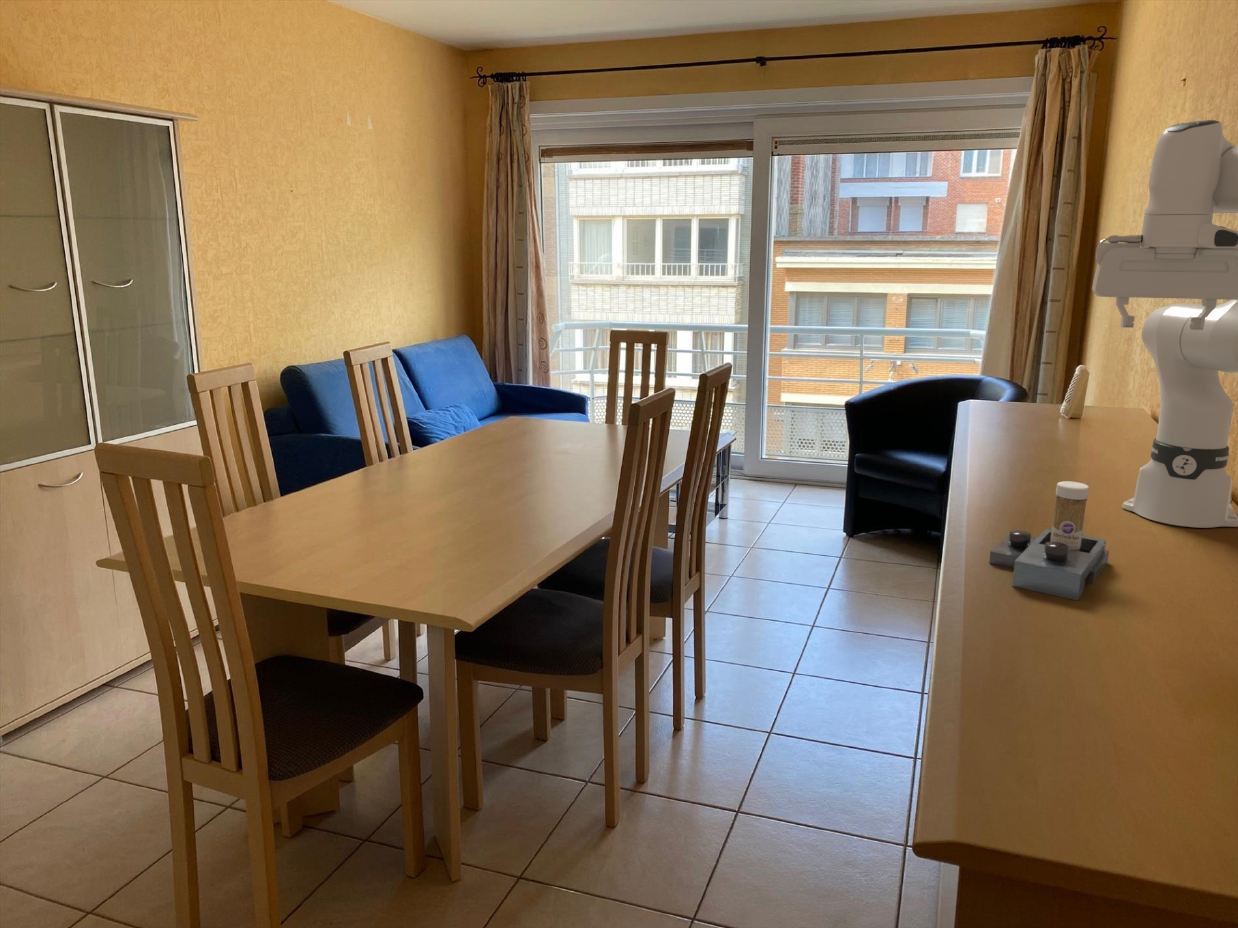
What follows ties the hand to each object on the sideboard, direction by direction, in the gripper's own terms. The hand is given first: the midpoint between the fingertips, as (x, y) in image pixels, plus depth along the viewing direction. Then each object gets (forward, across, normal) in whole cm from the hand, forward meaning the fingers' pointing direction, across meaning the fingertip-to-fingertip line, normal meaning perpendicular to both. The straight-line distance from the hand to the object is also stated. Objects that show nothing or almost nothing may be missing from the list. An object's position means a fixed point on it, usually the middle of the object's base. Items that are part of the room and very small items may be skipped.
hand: (1161, 328), depth 139 cm
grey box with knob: (+37, -12, -12) cm, 41 cm away
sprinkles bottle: (+37, -11, -8) cm, 40 cm away
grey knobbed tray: (+37, -13, -7) cm, 40 cm away
